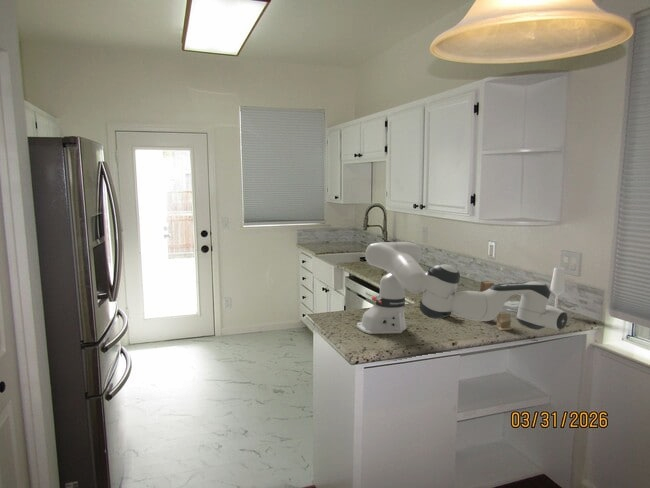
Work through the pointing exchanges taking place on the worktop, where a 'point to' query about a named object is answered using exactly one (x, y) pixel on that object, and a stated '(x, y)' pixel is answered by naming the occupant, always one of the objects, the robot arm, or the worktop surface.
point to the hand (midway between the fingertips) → (509, 302)
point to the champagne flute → (558, 283)
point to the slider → (485, 285)
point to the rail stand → (503, 321)
